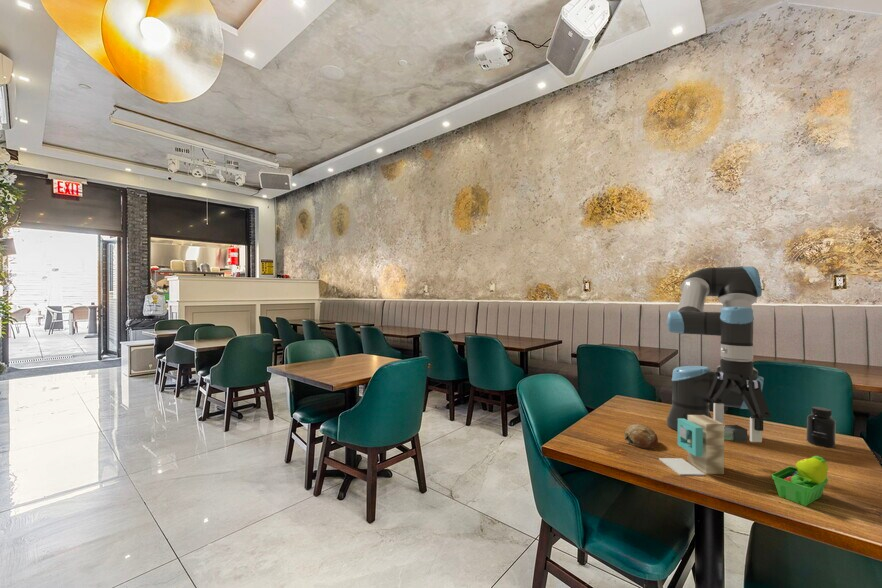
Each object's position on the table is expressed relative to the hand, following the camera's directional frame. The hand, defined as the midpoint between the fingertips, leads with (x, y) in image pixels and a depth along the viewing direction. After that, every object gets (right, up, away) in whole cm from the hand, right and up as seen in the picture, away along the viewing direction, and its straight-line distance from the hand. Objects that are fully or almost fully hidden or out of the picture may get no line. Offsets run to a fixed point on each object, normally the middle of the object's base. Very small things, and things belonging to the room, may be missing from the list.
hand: (736, 432), depth 108 cm
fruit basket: (+4, -11, -16) cm, 19 cm away
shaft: (-7, -2, 0) cm, 7 cm away
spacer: (-13, -5, 0) cm, 14 cm away
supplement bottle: (+43, -11, +18) cm, 48 cm away
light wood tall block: (-9, -10, 0) cm, 13 cm away
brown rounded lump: (-18, -11, +18) cm, 28 cm away
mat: (-16, -10, 0) cm, 19 cm away
